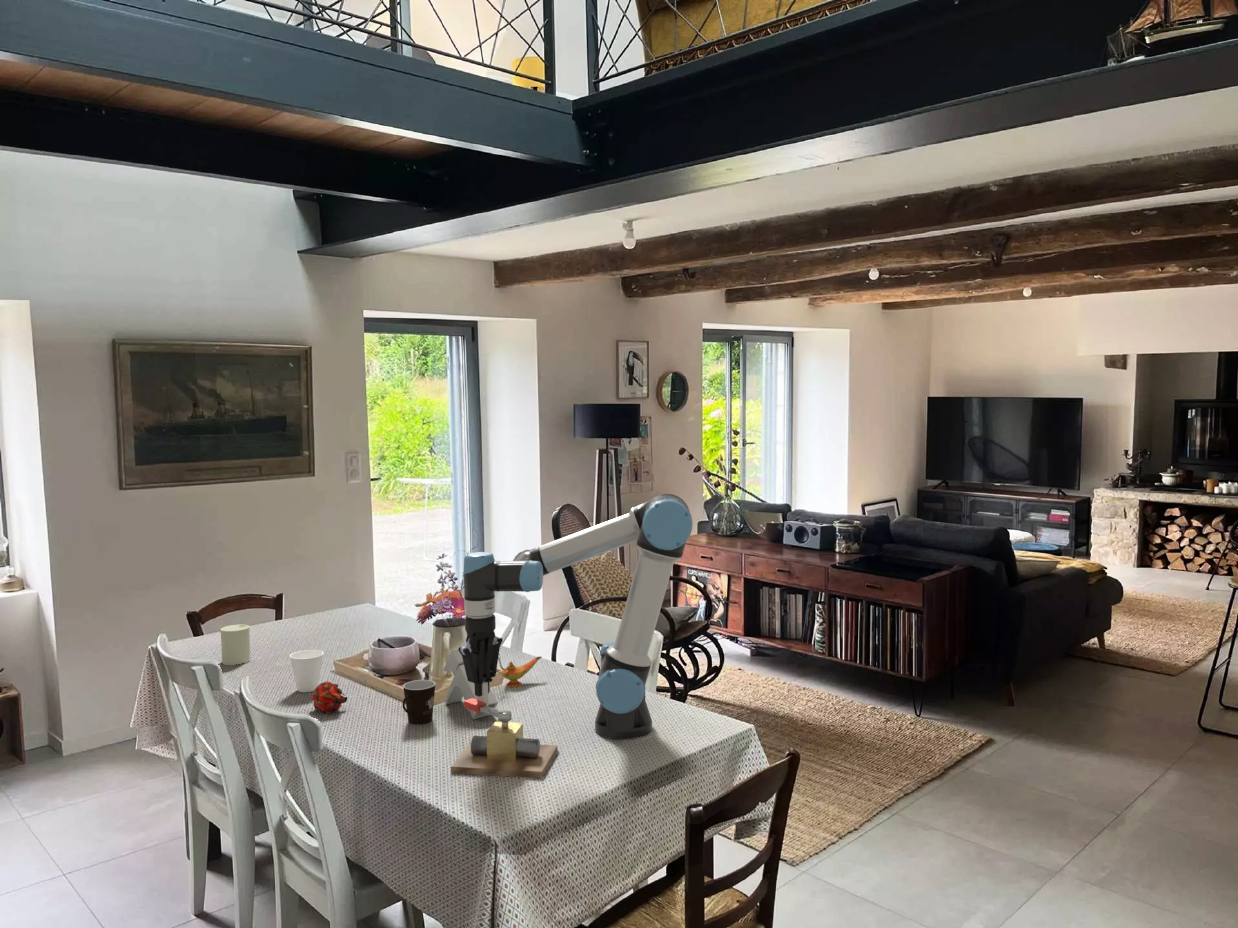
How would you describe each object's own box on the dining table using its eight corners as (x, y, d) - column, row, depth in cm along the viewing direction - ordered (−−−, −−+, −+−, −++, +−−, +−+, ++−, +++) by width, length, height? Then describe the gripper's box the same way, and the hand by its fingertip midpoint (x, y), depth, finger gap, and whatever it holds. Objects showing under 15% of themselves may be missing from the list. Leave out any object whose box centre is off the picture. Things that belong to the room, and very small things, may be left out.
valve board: (557, 751, 227) (557, 745, 227) (542, 777, 211) (541, 771, 211) (472, 746, 230) (472, 740, 230) (450, 772, 214) (450, 766, 214)
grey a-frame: (479, 706, 246) (449, 648, 257) (461, 741, 255) (433, 683, 266) (499, 701, 250) (469, 644, 261) (480, 735, 259) (452, 679, 270)
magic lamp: (548, 679, 284) (548, 645, 283) (499, 692, 272) (498, 656, 271) (536, 674, 289) (535, 640, 288) (487, 686, 278) (486, 651, 277)
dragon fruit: (320, 708, 264) (340, 725, 256) (298, 698, 258) (317, 714, 250) (337, 682, 266) (357, 698, 258) (316, 671, 261) (335, 687, 252)
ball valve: (541, 751, 223) (540, 716, 222) (534, 763, 216) (533, 726, 215) (478, 748, 225) (477, 713, 224) (469, 759, 218) (468, 723, 218)
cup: (305, 696, 270) (304, 660, 269) (283, 691, 275) (282, 655, 274) (332, 687, 278) (330, 652, 277) (310, 682, 283) (309, 647, 283)
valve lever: (514, 719, 220) (514, 712, 220) (504, 723, 217) (503, 715, 217) (473, 704, 231) (473, 697, 230) (463, 707, 228) (462, 700, 228)
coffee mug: (425, 712, 255) (424, 677, 255) (442, 720, 249) (441, 684, 248) (388, 723, 247) (387, 687, 246) (405, 731, 241) (404, 694, 240)
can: (257, 659, 309) (255, 625, 308) (232, 666, 301) (231, 631, 300) (240, 655, 314) (238, 621, 313) (215, 662, 306) (214, 627, 305)
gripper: (470, 622, 219) (473, 717, 221) (509, 611, 230) (511, 703, 231) (449, 617, 224) (452, 711, 226) (489, 607, 234) (491, 697, 236)
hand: (482, 707), depth 229 cm, fingers closed
